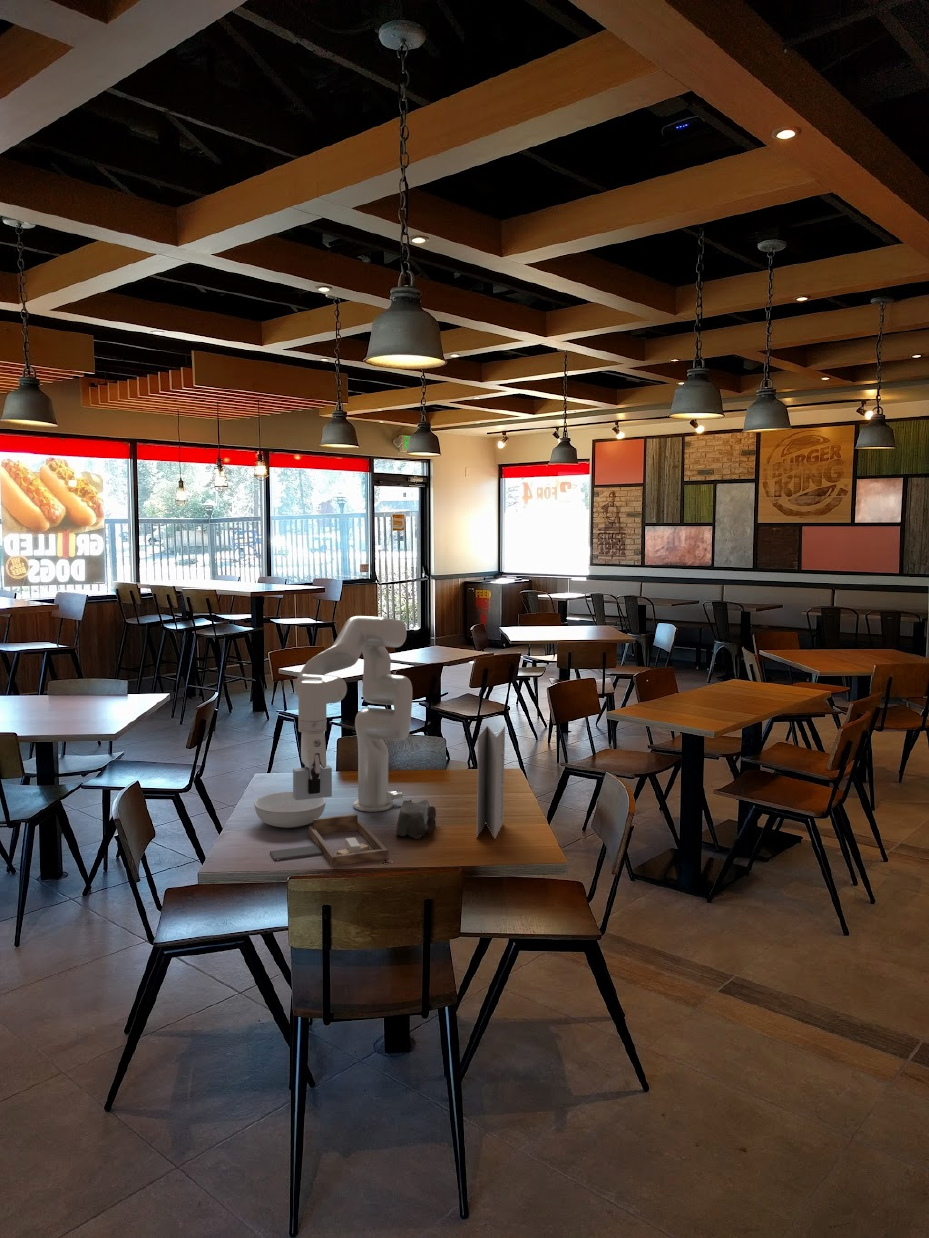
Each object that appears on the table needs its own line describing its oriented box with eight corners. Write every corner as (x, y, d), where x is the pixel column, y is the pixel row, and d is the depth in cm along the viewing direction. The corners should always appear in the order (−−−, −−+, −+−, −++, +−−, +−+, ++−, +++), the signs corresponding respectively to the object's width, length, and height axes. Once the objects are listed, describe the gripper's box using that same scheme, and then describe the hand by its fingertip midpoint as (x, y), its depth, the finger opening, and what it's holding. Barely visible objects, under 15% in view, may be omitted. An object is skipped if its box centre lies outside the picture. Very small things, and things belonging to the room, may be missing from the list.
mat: (317, 847, 252) (317, 845, 252) (322, 854, 246) (322, 852, 246) (270, 853, 247) (270, 851, 246) (274, 860, 241) (274, 858, 241)
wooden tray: (360, 828, 268) (360, 813, 267) (388, 858, 244) (388, 842, 243) (308, 834, 262) (308, 819, 261) (332, 866, 238) (332, 849, 237)
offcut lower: (362, 850, 251) (362, 843, 251) (369, 853, 249) (369, 845, 249) (336, 859, 244) (336, 851, 244) (343, 862, 242) (343, 854, 242)
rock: (434, 843, 256) (434, 816, 255) (394, 842, 256) (394, 815, 255) (437, 822, 274) (437, 797, 274) (400, 822, 275) (400, 796, 274)
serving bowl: (330, 831, 265) (330, 808, 264) (256, 837, 259) (256, 814, 258) (320, 810, 285) (320, 788, 284) (252, 815, 279) (252, 793, 278)
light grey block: (328, 793, 251) (328, 765, 251) (331, 796, 249) (331, 768, 248) (293, 797, 247) (293, 768, 247) (295, 800, 245) (295, 771, 244)
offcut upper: (345, 844, 249) (345, 838, 249) (355, 843, 250) (355, 837, 250) (351, 853, 243) (351, 846, 242) (360, 852, 243) (360, 845, 243)
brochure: (495, 840, 259) (497, 737, 256) (476, 838, 260) (477, 736, 257) (503, 824, 273) (505, 726, 270) (485, 822, 274) (486, 725, 271)
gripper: (334, 730, 240) (333, 798, 242) (318, 718, 255) (318, 782, 257) (306, 732, 237) (306, 801, 239) (291, 720, 252) (291, 785, 254)
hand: (312, 790), depth 248 cm, fingers closed on light grey block, 3 cm apart
